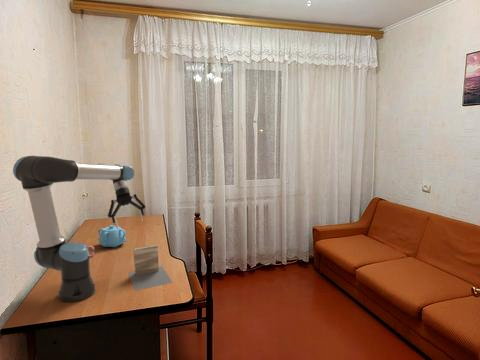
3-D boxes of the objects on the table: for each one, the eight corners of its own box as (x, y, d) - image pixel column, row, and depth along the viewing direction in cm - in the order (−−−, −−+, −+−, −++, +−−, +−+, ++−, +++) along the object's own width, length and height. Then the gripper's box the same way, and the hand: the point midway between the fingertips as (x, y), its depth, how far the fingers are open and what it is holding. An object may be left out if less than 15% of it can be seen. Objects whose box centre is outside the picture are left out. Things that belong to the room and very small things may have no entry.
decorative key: (60, 263, 189) (96, 255, 193) (60, 264, 188) (95, 255, 192) (57, 253, 188) (93, 244, 192) (57, 253, 187) (93, 245, 191)
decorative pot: (100, 251, 201) (99, 230, 199) (98, 243, 215) (96, 224, 213) (127, 246, 209) (126, 226, 207) (123, 239, 223) (122, 221, 221)
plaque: (158, 270, 170) (157, 245, 168) (135, 275, 165) (134, 249, 163) (157, 269, 172) (156, 244, 170) (135, 273, 167) (133, 248, 165)
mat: (172, 283, 157) (172, 282, 157) (135, 291, 149) (135, 290, 148) (162, 267, 176) (162, 266, 176) (128, 273, 168) (128, 272, 168)
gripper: (144, 187, 188) (153, 220, 181) (100, 197, 180) (107, 232, 173) (143, 182, 181) (152, 216, 174) (97, 193, 173) (105, 229, 167)
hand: (130, 224), depth 174 cm, fingers open, 13 cm apart
